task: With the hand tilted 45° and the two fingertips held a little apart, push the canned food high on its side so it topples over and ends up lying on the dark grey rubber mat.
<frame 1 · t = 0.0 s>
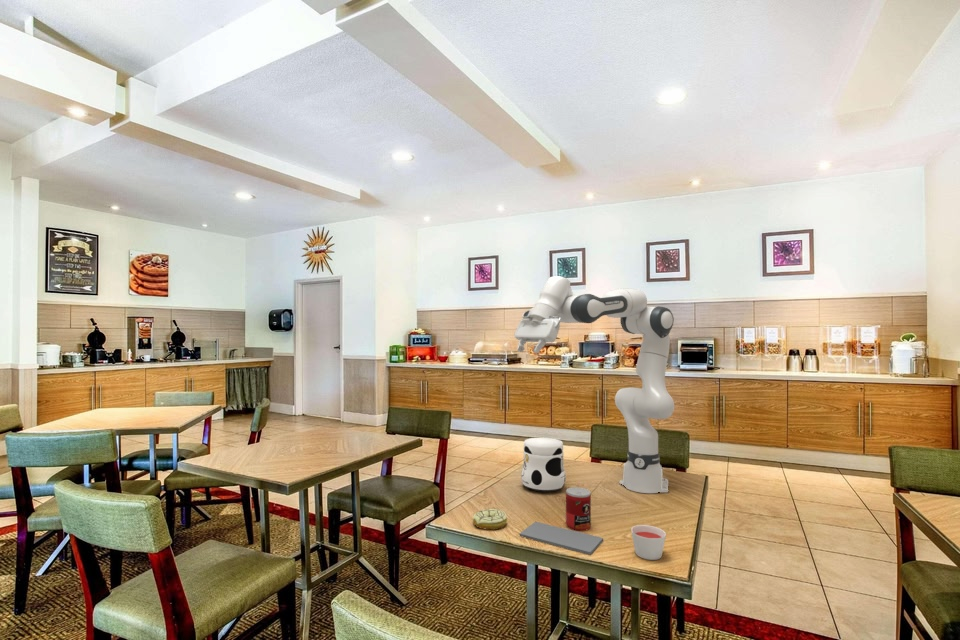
hand: (527, 351, 163), 54 cm above the table, tool tilted 30°, fingers open, 8 cm apart
milk container: (543, 488, 188), on the table
decorated donut: (490, 525, 152), on the table
canned food: (578, 526, 151), on the table
candle: (648, 555, 132), on the table
mat: (560, 538, 142), on the table
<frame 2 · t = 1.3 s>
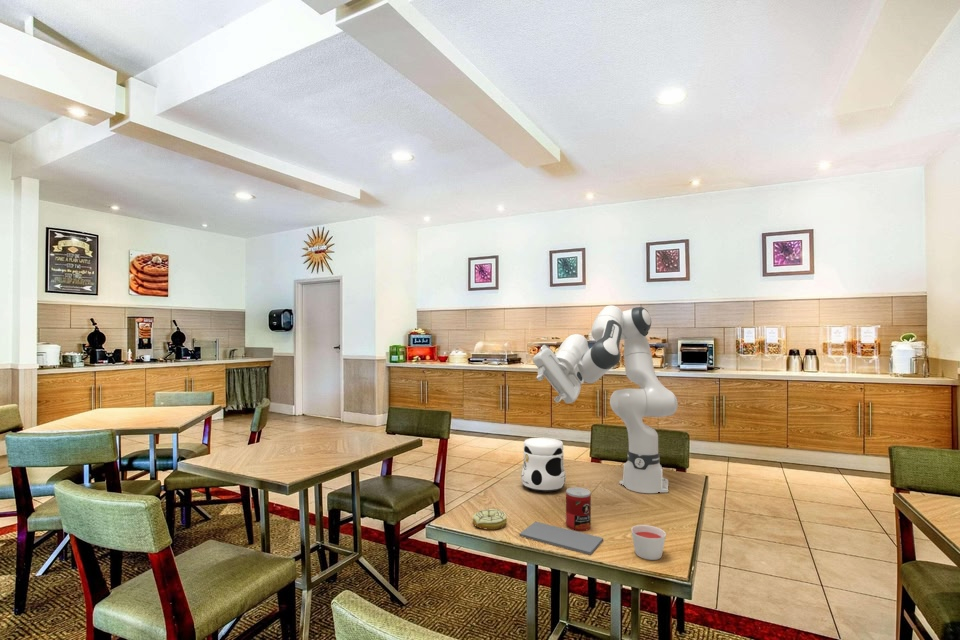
hand: (547, 390, 155), 42 cm above the table, tool tilted 60°, fingers open, 8 cm apart
nothing on the table moved.
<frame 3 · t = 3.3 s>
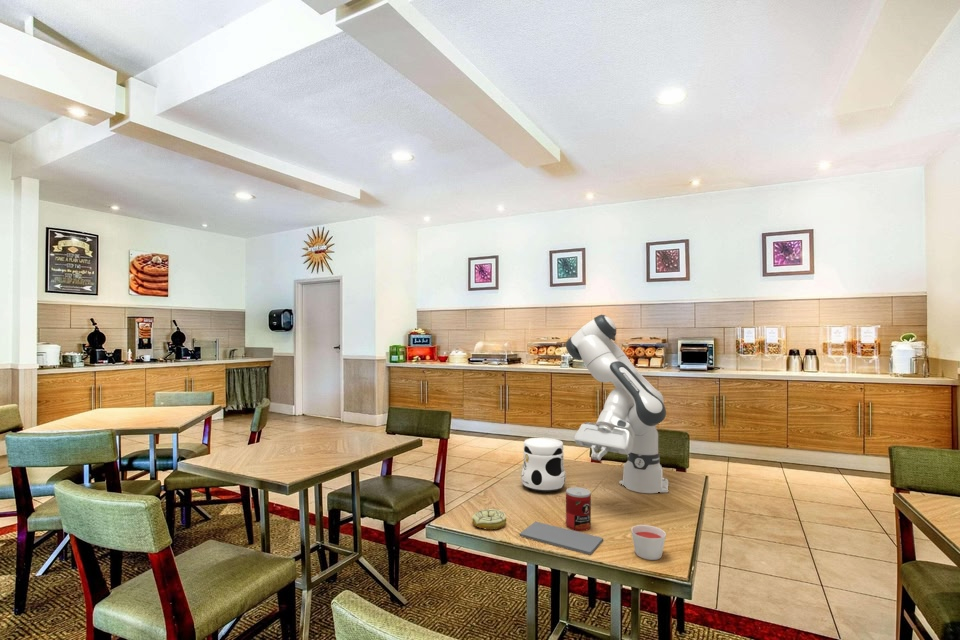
hand: (595, 458, 161), 19 cm above the table, tool tilted 45°, fingers closed
nothing on the table moved.
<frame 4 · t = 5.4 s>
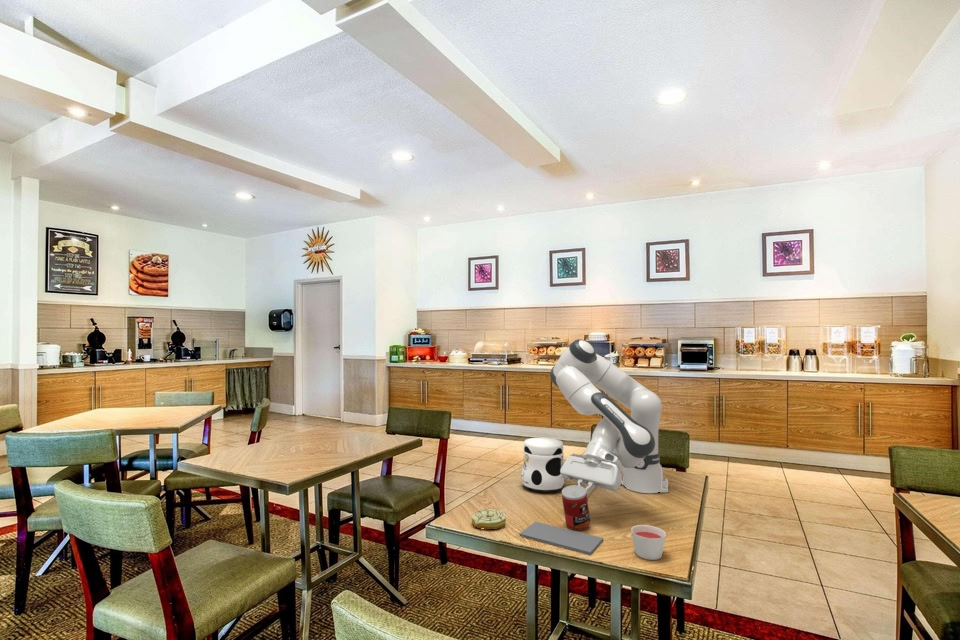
hand: (581, 494, 153), 9 cm above the table, tool tilted 45°, fingers closed, pressing on canned food
canned food: (578, 524, 151), point 1 cm above the table, touching gripper
everything else where it was.
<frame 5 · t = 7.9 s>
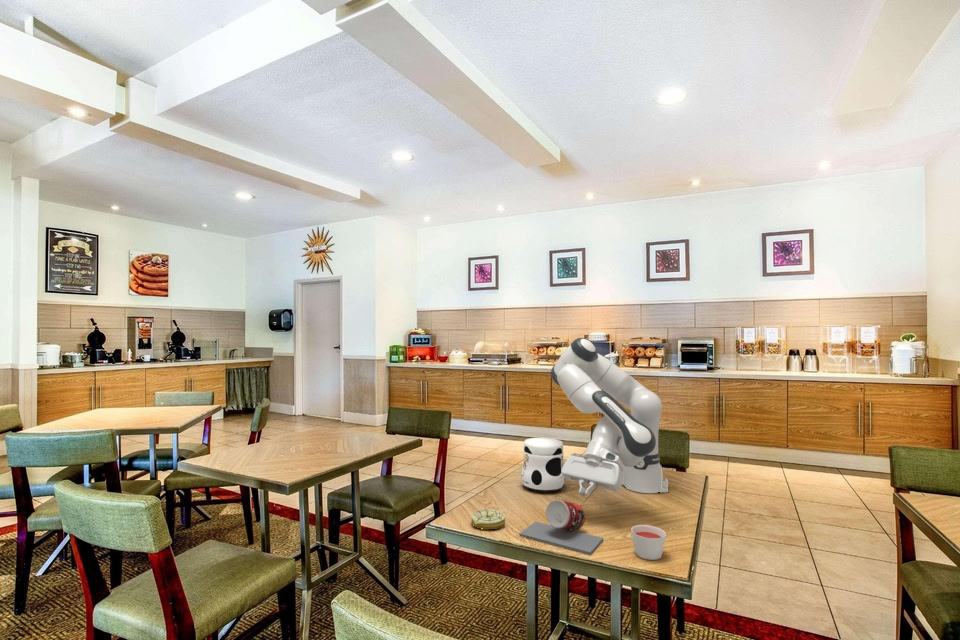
hand: (583, 494, 152), 9 cm above the table, tool tilted 45°, fingers closed
canned food: (574, 516, 149), point 4 cm above the table, touching mat
everything else where it was.
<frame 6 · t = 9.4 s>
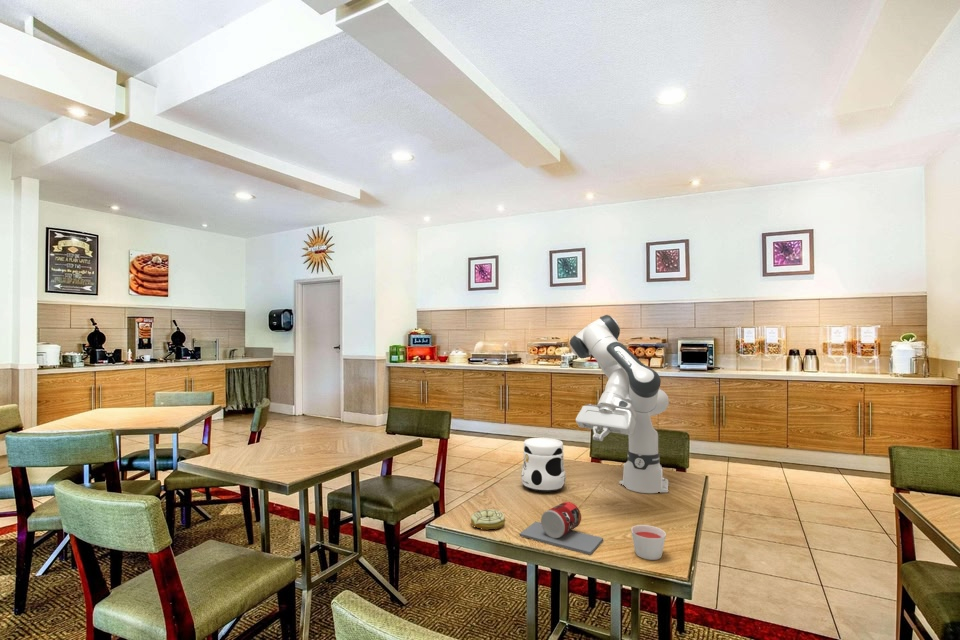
hand: (597, 439, 160), 25 cm above the table, tool tilted 45°, fingers closed
canned food: (571, 513, 149), point 5 cm above the table, touching mat
everything else where it was.
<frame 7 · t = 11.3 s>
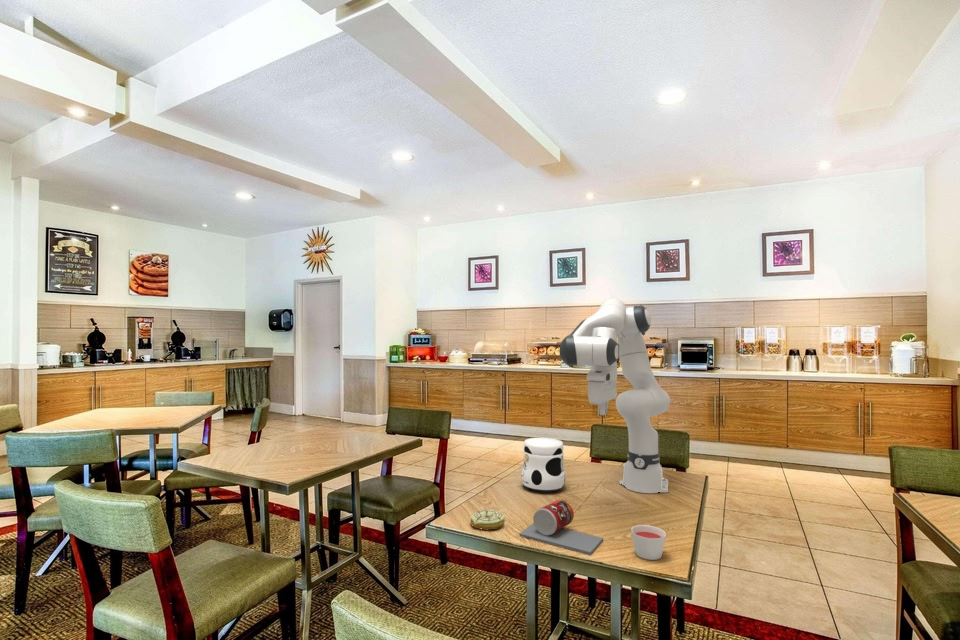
hand: (603, 414, 164), 33 cm above the table, tool pointing down, fingers closed
canned food: (563, 511, 150), point 5 cm above the table, touching mat
everything else where it was.
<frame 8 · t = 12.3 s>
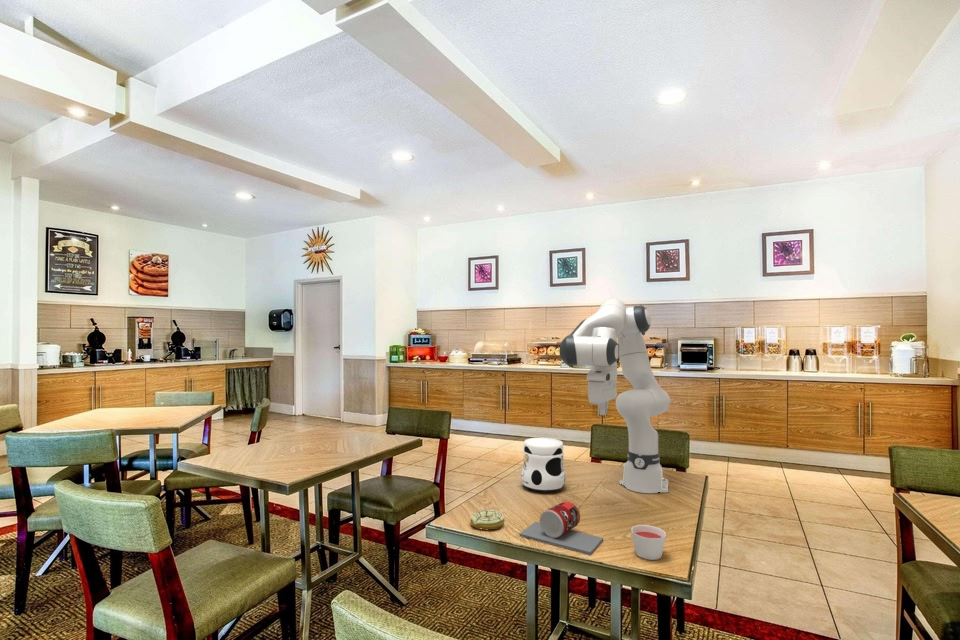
hand: (603, 414, 164), 33 cm above the table, tool pointing down, fingers closed
canned food: (570, 513, 149), point 5 cm above the table, touching mat
at the end: canned food tilted 90°; canned food touching mat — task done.
